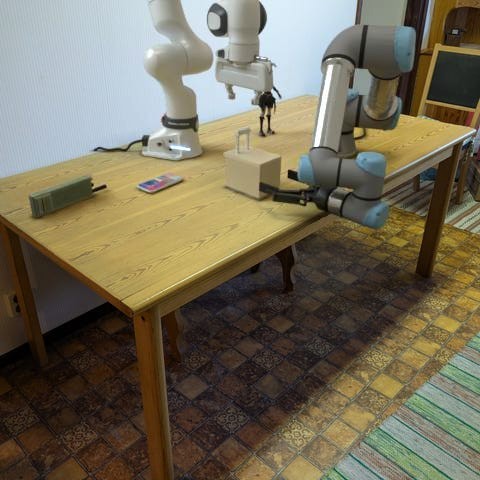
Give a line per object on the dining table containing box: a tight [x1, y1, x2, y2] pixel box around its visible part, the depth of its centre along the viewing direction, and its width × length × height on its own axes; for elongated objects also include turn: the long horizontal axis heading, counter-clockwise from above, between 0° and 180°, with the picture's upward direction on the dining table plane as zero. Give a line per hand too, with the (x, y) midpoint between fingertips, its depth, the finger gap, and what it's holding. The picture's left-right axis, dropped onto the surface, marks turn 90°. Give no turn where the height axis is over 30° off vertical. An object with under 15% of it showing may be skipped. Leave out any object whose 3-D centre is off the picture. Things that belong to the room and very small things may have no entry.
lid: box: [223, 126, 282, 168], centre depth 155 cm, size 15×10×8 cm
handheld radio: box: [28, 173, 108, 219], centre depth 150 cm, size 7×3×25 cm
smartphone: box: [136, 172, 184, 194], centre depth 164 cm, size 7×1×15 cm
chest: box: [224, 156, 282, 201], centre depth 159 cm, size 14×10×10 cm
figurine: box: [257, 59, 283, 137], centre depth 204 cm, size 15×6×30 cm, turn 132°
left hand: (243, 102), depth 151 cm, fingers open, 8 cm apart
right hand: (274, 179), depth 153 cm, fingers open, 13 cm apart
